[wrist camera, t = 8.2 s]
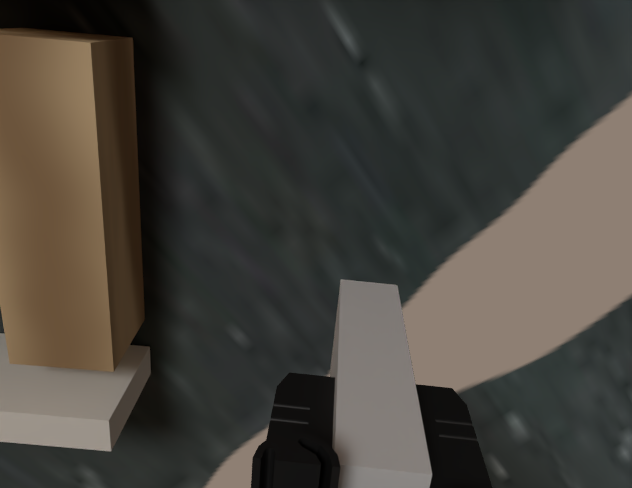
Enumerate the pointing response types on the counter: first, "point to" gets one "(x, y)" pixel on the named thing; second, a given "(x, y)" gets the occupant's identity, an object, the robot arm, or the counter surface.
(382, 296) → the robot arm
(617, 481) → the counter surface
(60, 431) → the bay
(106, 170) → the tee
